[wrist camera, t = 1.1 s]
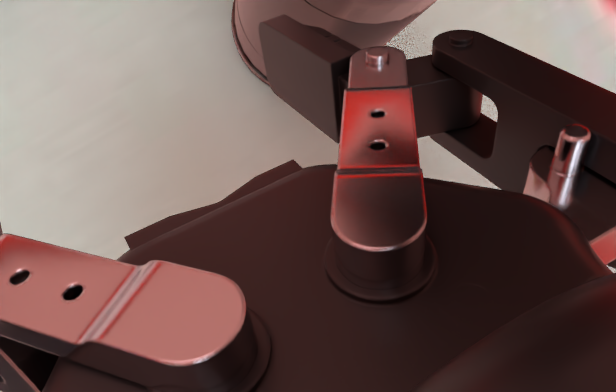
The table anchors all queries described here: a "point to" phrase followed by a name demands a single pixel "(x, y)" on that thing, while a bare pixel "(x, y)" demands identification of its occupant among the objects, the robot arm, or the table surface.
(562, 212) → the robot arm
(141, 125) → the table surface
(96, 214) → the table surface
